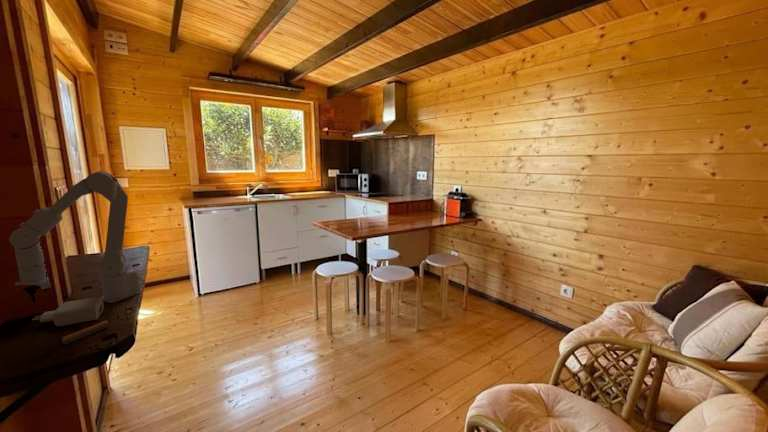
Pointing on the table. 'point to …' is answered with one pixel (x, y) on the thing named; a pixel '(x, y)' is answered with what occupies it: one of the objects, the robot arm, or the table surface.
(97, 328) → the brown stick
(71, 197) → the robot arm
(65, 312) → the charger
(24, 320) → the table surface
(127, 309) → the table surface
